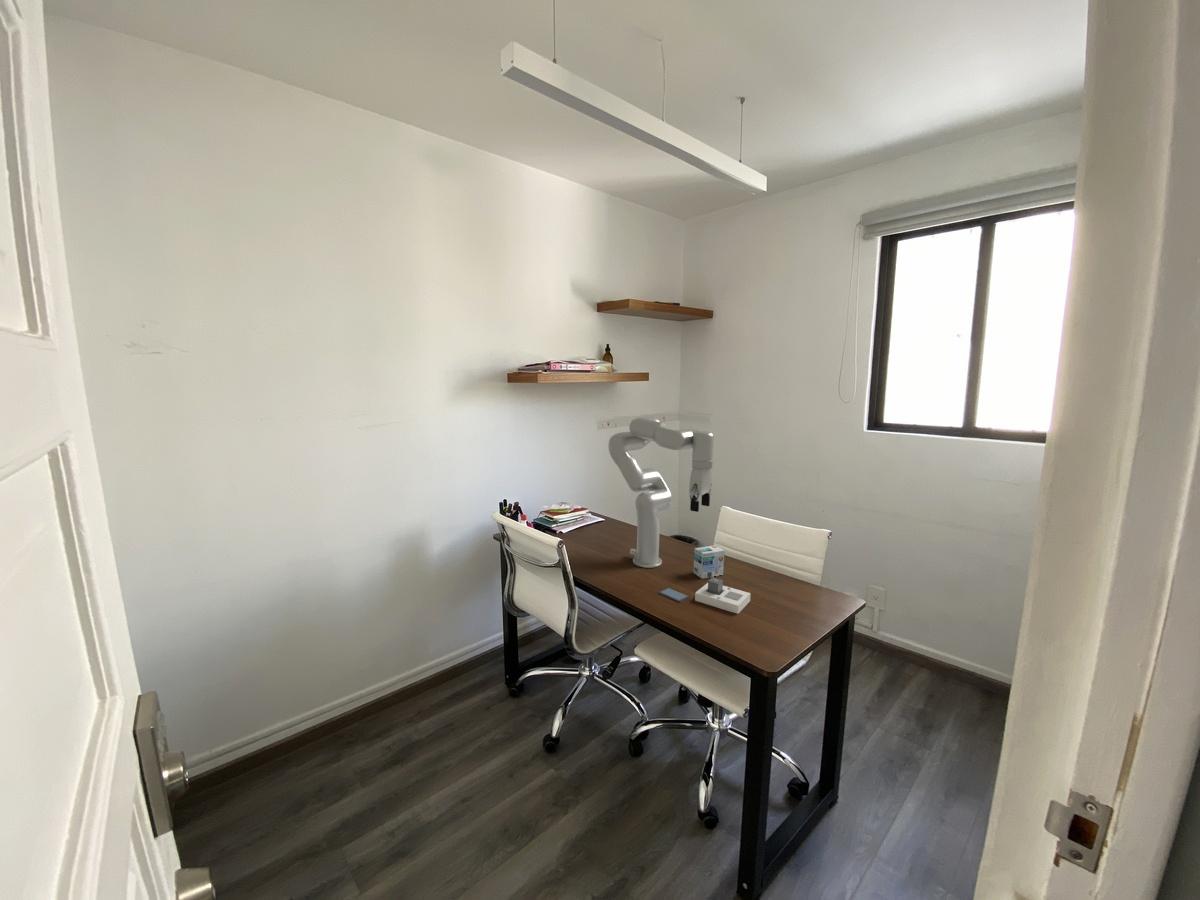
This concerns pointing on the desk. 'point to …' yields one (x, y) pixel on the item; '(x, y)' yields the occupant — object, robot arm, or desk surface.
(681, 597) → the phone
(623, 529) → the desk surface
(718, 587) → the charger
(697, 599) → the outlet plate
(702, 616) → the desk surface
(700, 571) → the light bulb box
